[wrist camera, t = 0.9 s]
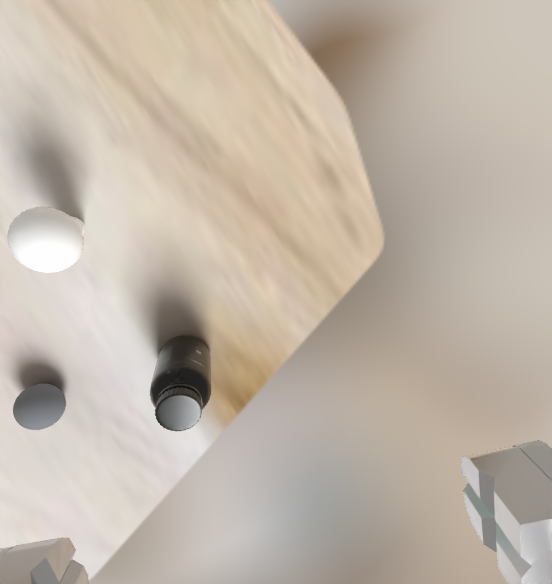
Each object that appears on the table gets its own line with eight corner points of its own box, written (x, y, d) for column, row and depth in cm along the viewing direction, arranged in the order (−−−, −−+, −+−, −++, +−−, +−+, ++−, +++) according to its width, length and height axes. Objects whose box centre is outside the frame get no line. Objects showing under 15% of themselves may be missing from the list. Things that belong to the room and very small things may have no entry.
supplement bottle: (221, 357, 51) (224, 411, 40) (184, 387, 52) (177, 450, 40) (185, 324, 49) (179, 372, 37) (147, 357, 49) (130, 414, 38)
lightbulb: (41, 198, 41) (-15, 211, 31) (100, 199, 42) (65, 211, 32) (51, 253, 43) (1, 281, 33) (106, 252, 44) (76, 279, 34)
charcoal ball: (15, 390, 47) (-8, 417, 42) (51, 367, 47) (32, 392, 42) (47, 418, 50) (28, 447, 44) (81, 396, 49) (66, 423, 44)
